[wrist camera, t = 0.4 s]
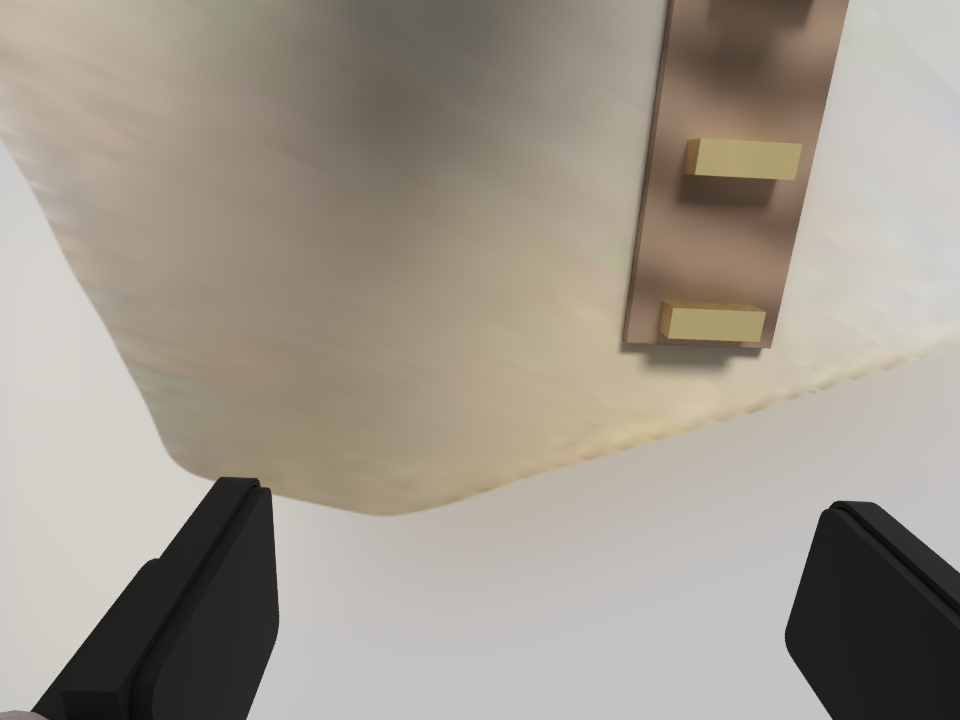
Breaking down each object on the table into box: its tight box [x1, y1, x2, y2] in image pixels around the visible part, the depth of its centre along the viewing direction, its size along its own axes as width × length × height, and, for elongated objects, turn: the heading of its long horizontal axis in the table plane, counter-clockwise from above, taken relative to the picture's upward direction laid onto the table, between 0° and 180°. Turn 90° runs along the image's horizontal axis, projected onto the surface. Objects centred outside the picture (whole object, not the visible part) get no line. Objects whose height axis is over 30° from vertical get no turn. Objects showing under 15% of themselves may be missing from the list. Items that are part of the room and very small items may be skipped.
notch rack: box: [623, 0, 849, 348], centre depth 33 cm, size 34×10×3 cm, turn 177°
